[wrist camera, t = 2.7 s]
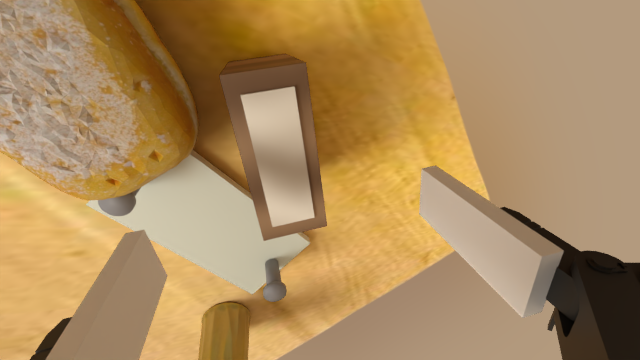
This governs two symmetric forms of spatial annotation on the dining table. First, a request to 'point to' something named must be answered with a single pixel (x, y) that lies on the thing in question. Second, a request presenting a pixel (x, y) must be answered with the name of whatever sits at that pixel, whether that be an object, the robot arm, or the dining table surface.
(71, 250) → the dining table surface
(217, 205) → the white board with pegs
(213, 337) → the vase
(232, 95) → the brown block
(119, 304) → the robot arm
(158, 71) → the bread
